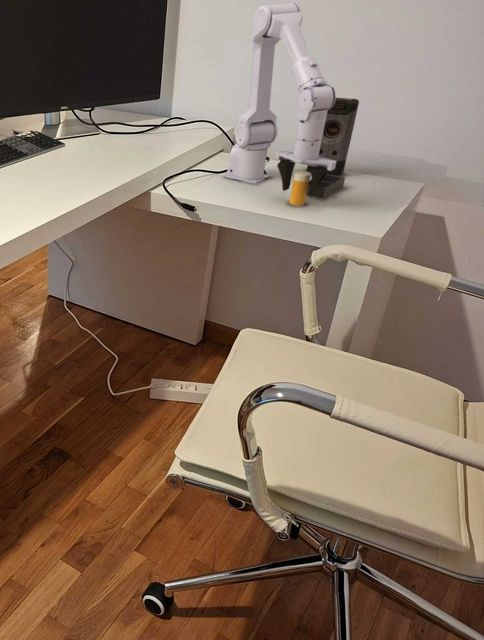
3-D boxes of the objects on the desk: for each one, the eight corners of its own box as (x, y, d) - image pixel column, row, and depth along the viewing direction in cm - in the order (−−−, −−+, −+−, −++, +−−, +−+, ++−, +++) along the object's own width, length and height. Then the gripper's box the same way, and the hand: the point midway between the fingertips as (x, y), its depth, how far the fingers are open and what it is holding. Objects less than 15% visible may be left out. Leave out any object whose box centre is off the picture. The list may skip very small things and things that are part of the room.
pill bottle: (286, 204, 169) (291, 173, 165) (293, 200, 172) (299, 170, 167) (300, 207, 167) (306, 176, 163) (307, 203, 169) (313, 173, 165)
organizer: (299, 194, 175) (302, 184, 173) (320, 183, 181) (322, 173, 180) (322, 200, 171) (324, 189, 169) (342, 188, 177) (345, 177, 176)
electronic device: (304, 174, 188) (319, 101, 177) (309, 168, 192) (323, 96, 181) (340, 178, 184) (356, 103, 173) (344, 172, 188) (360, 98, 177)
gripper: (272, 136, 163) (264, 190, 170) (330, 147, 154) (319, 203, 161) (287, 130, 167) (278, 183, 174) (344, 140, 158) (332, 195, 165)
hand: (298, 192), depth 168 cm, fingers open, 6 cm apart
